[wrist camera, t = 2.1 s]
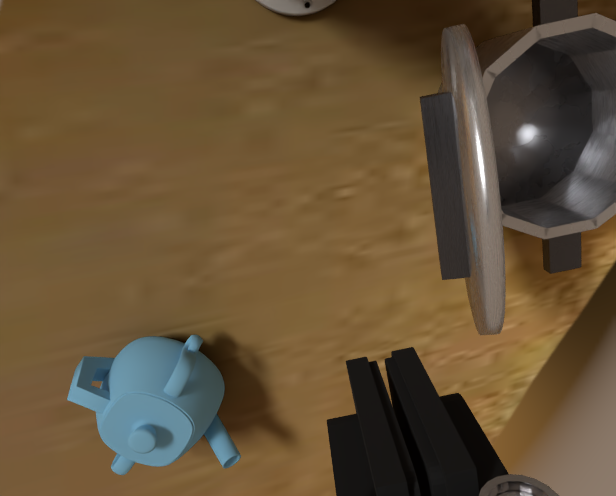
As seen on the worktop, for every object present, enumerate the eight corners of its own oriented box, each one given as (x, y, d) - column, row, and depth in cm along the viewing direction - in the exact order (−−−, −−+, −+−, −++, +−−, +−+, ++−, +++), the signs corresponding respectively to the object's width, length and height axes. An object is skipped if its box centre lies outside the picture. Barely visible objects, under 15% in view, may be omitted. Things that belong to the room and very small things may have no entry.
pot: (393, 16, 44) (423, -7, 35) (595, -28, 44) (682, -64, 34) (425, 261, 52) (457, 297, 43) (596, 225, 52) (666, 254, 42)
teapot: (68, 389, 55) (13, 462, 44) (131, 282, 51) (88, 332, 40) (212, 457, 59) (196, 540, 48) (281, 363, 56) (280, 429, 44)
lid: (448, 36, 35) (412, 44, 36) (486, 0, 18) (413, 18, 18) (471, 263, 41) (439, 266, 42) (515, 403, 24) (459, 405, 24)
